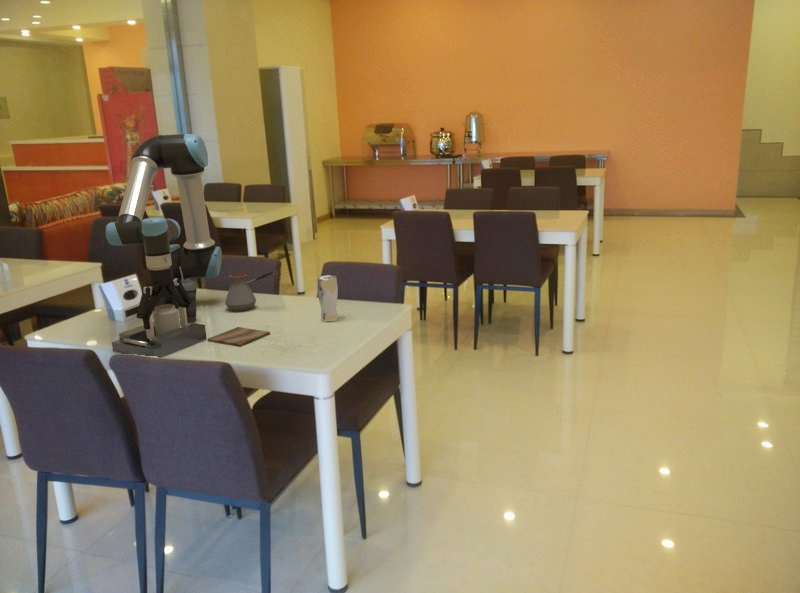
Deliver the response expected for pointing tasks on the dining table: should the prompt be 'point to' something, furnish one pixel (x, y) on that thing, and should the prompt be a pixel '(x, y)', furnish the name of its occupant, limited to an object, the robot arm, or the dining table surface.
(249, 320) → the dining table surface
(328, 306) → the beer glass
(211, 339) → the walnut board
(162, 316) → the can
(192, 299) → the beverage cup
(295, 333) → the dining table surface
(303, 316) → the dining table surface
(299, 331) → the dining table surface
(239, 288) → the coffee pot
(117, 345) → the grey stepped tray
